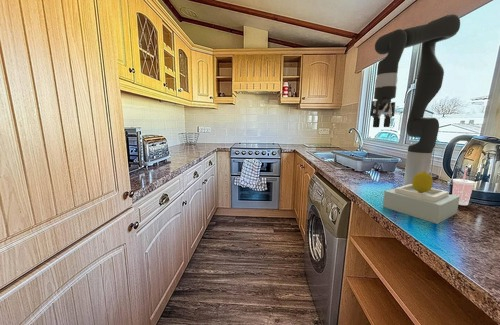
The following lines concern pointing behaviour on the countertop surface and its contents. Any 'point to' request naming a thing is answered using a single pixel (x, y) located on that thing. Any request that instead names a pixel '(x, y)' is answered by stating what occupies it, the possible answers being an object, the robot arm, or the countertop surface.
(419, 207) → the stand
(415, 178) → the lemon
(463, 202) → the beverage cup
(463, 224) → the countertop surface
